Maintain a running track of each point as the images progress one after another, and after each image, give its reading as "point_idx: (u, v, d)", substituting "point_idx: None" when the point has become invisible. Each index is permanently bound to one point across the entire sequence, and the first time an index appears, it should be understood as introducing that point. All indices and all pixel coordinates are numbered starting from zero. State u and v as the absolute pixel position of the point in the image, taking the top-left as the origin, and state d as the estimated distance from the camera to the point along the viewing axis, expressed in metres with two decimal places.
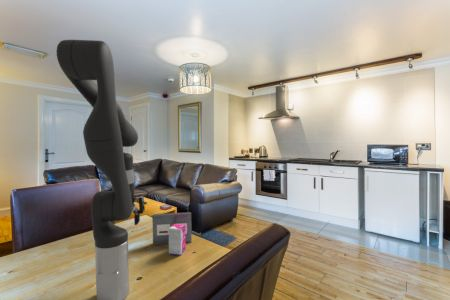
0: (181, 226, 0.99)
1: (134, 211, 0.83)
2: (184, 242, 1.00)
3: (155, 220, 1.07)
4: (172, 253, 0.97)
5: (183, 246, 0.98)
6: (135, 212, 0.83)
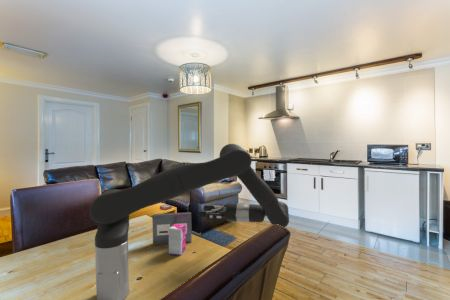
0: (181, 226, 0.99)
1: (210, 211, 0.92)
2: (184, 242, 1.00)
3: (155, 220, 1.07)
4: (172, 253, 0.97)
5: (183, 246, 0.98)
6: (209, 211, 0.91)
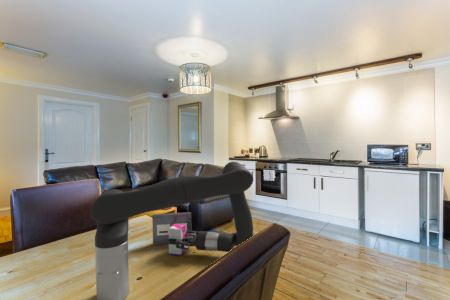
0: (181, 226, 0.99)
1: (180, 239, 0.95)
2: None
3: (155, 220, 1.07)
4: (172, 253, 0.97)
5: None
6: (179, 239, 0.95)
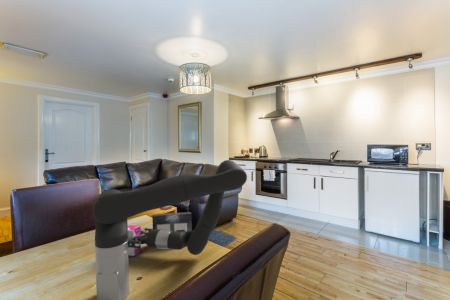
0: (135, 227, 0.99)
1: (132, 238, 0.94)
2: None
3: (155, 220, 1.07)
4: None
5: (136, 248, 0.98)
6: (130, 238, 0.94)
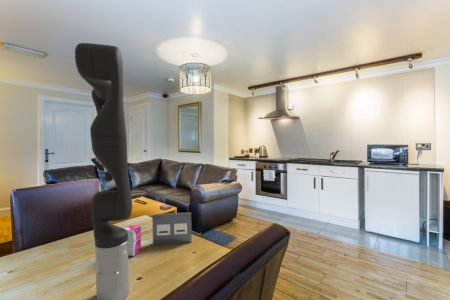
0: (135, 227, 0.99)
1: None
2: (139, 243, 1.00)
3: (155, 220, 1.07)
4: None
5: (136, 248, 0.98)
6: None
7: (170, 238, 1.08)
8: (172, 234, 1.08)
